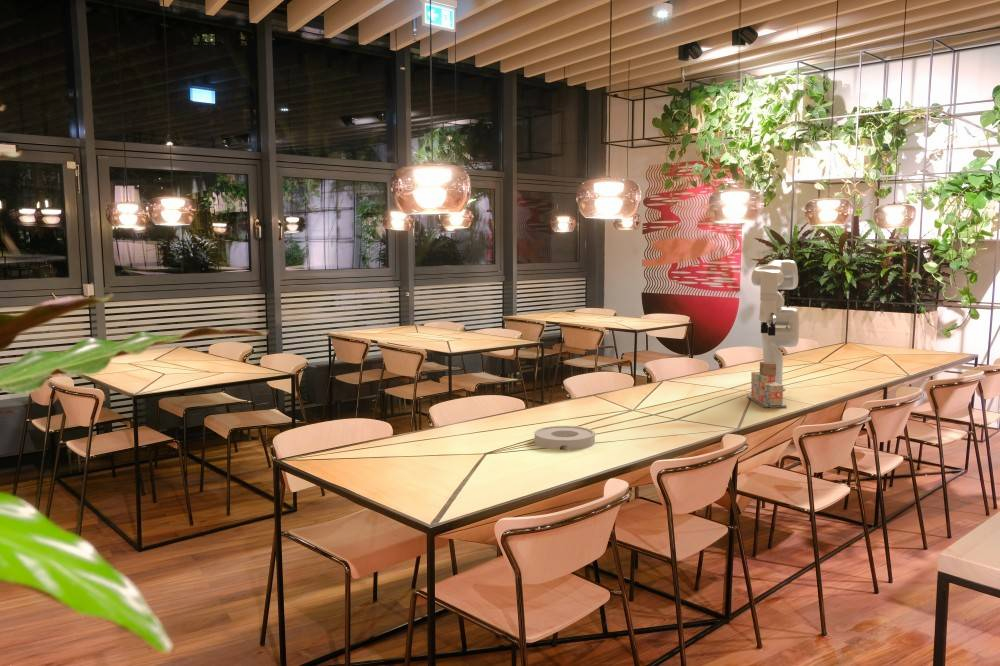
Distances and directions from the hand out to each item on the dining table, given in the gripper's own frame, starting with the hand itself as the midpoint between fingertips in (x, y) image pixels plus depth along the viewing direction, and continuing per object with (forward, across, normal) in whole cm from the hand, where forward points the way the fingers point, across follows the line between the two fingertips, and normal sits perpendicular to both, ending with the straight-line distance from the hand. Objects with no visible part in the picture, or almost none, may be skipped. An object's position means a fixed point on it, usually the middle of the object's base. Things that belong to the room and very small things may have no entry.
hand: (767, 334), depth 360 cm
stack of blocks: (+31, +2, 0) cm, 31 cm away
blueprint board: (+32, 0, 0) cm, 32 cm away
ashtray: (+33, +68, -101) cm, 126 cm away
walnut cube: (+19, 0, 0) cm, 19 cm away
